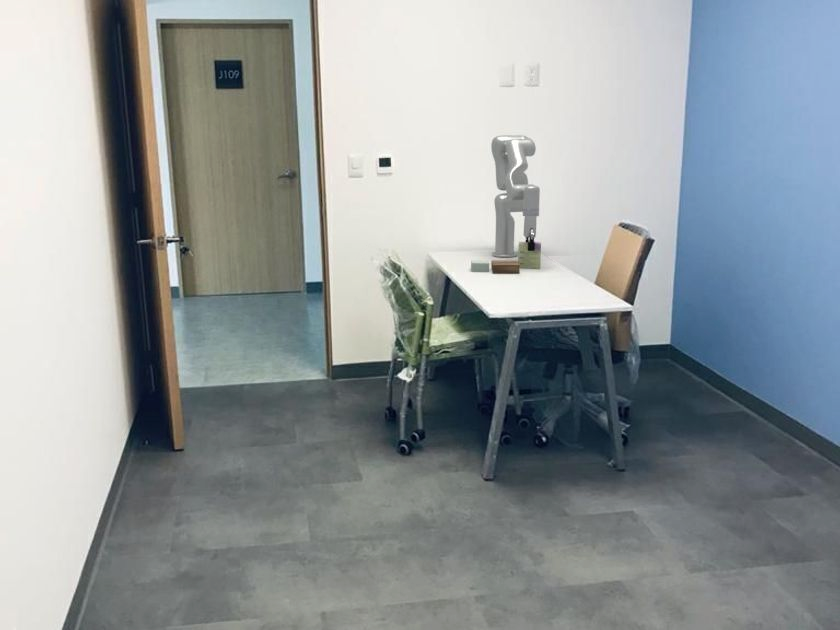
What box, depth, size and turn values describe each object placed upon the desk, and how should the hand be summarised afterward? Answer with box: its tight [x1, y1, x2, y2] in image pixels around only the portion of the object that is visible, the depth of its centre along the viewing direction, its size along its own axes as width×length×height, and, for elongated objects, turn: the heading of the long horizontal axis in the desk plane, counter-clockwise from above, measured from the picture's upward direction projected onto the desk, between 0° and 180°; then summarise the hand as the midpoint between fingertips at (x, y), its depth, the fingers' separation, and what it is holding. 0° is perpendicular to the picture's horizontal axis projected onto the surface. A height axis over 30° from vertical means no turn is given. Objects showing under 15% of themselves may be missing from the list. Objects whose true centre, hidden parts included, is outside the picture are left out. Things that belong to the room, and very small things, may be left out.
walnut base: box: [490, 259, 521, 275], centre depth 368 cm, size 12×12×4 cm
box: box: [517, 241, 542, 270], centre depth 376 cm, size 10×6×12 cm, turn 84°
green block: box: [470, 259, 490, 273], centre depth 370 cm, size 8×8×4 cm
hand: (529, 249), depth 375 cm, fingers open, 9 cm apart
